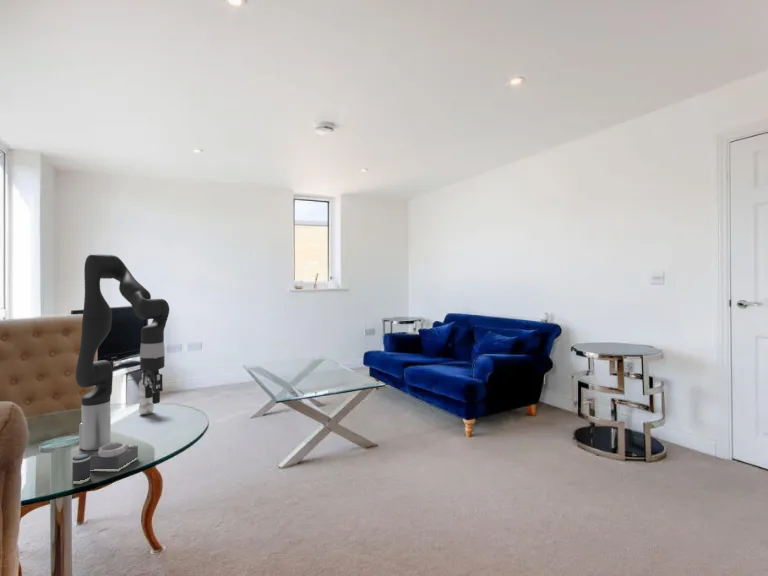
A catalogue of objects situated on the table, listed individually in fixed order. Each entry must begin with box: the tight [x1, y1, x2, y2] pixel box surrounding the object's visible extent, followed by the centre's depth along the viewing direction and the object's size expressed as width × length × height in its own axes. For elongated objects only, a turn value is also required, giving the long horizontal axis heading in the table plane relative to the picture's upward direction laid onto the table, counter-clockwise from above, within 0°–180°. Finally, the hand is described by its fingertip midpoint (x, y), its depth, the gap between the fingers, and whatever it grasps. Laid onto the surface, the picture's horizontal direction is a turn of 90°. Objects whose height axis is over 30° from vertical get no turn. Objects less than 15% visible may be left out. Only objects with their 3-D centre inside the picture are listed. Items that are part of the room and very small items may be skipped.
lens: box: [71, 453, 92, 482], centre depth 129 cm, size 5×5×8 cm
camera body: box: [90, 441, 139, 470], centre depth 141 cm, size 10×10×7 cm
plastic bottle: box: [138, 372, 155, 416], centre depth 195 cm, size 6×7×20 cm
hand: (152, 400), depth 143 cm, fingers open, 8 cm apart
